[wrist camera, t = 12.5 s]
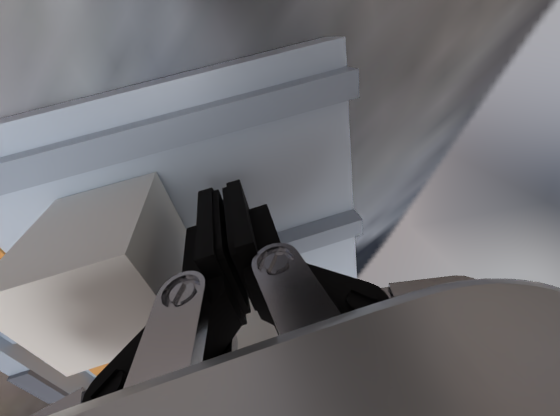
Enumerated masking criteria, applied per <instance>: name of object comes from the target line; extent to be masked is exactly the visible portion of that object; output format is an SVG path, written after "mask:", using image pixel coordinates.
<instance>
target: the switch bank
mask: <svg viewBox="0 0 560 416" xmlns="http://www.w3.org/2000/svg"><path fill="white" fill-rule="evenodd" d="M356 98H360V96H359V69H357V68H352V67H347V57H346V37H322V38H318V39H314V40H310V41H306V42H302V43H298V44H294V45H290V46H286V47H282V48H278V49H274V50H270V51H267V52H263V53H259V54H255V55H251V56H247V57H243V58H239V59H235V60H231V61H227V62H223V63H219V64H215V65H211V66H207V67H203V68H199V69H195V70H191V71H187V72H183V73H179V74H175V75H171V76H167V77H163V78H159V79H155V80H151V81H147V82H143V83H139V84H135V85H131V86H127V87H123V88H119V89H115V90H111V91H108V92H104V93H100V94H96V95H92V96H88V97H84V98H80V99H76V100H72V101H68V102H64V103H60V104H56V105H52V106H48V107H44V108H40V109H36V110H32V111H28V112H24V113H20V114H16V115H12V116H8V117H4V118H0V259H1V258H2V257H3V256H4V255H5V254H6V253H7V252H8V251H9V250H10V249H11V247H12V246H13V245H14V244H15V243H16V242H17V241H18V240H19V239H20V238H21V237H22V236H23V235H24V233H25V232H26V231H27V230H28V229H29V228H30V227H31V226H32V225H33V224H34V223H35V222H36V221H37V219H38V218H39V217H40V216H41V215H42V214H43V213H44V212H45V211H46V210H47V209H48V208H49V207H50V205H51V204H52V203H53V202H54V201H55V200H57V199H60V198H64V197H67V196H71V195H75V194H78V193H82V192H85V191H89V190H93V189H96V188H100V187H103V186H107V185H111V184H114V183H118V182H121V181H125V180H128V179H132V178H136V177H139V176H143V175H146V174H150V173H154V172H156V173H157V174H158V176H159V178H160V180H161V182H162V184H163V186H164V188H165V190H166V192H167V194H168V195H169V197H170V199H171V201H172V203H173V205H174V207H175V209H176V211H177V213H178V215H179V217H180V218H181V220H182V222H183V224H184V226H185V228H186V230H187V228H189V227H192V226H195V225H196V219H197V202H198V191H201V190H205V189H208V188H211V187H212V188H213V190H217V189H218V190H219V191H220V194H221V196H222V199H223V192H222V188H224V187H227V185H226V183H228V182H232V181H235V180H239V179H240V182H241V185H242V188H243V191H244V194H245V197H246V200H247V203H248V206H249V209H251V208H255V207H258V206H261V205H264V204H267V206H268V209H269V211H270V214H271V217H272V220H273V223H274V225H275V228H276V231H277V234H278V237H279V239H280V242H281V243H286V244H289V245H292V246H293V247H294V248H296V249H297V251H298V252H299V253H300V255H301V256H302V258H303V259H304V261H305V262H306V263H308V264H311V265H314V266H318V267H321V268H324V269H327V270H330V271H334V272H337V273H340V274H343V275H347V276H350V277H353V278H356V279H357V270H356V249H355V236H359V235H362V234H363V221H362V218H361V217H360V216H359V215H358V214H357V213H356V211H355V210H354V206H353V185H352V164H351V142H350V121H349V100H353V99H356ZM108 364H109V363H107V364H104V365H101V366H98V367H95V368H92V369H89V370H86V371H83V372H80V373H77V374H74V375H71V376H68V377H66V376H65V375H63V374H62V373H60V372H59V371H57V370H56V369H54V368H53V367H52V366H50V365H49V364H47V363H46V362H44V361H43V360H41V359H40V358H38V357H37V356H35V355H34V354H32V353H31V352H29V351H28V350H27V349H25V348H24V347H22V346H21V345H19V344H18V343H16V342H15V341H13V340H12V339H10V338H9V337H7V336H6V335H4V334H3V333H1V332H0V371H1V372H3V373H5V374H6V375H8V376H9V377H8V379H7V381H9V382H11V383H12V384H14V385H16V386H18V387H19V388H21V389H23V390H25V391H27V392H28V393H30V394H32V395H34V396H36V397H37V398H39V399H41V400H43V401H45V402H46V403H48V404H50V403H53V402H56V401H58V400H60V399H62V398H64V397H65V396H67V395H69V394H71V393H73V392H74V391H76V390H78V389H80V388H82V387H83V388H85V389H86V390H87V389H88V387H89V385H90V384H91V383H92V381H93V380H94V379H95V378H96V377H97V375H98V374H99V373H100V372H101V371H102V370H103V369H104V368H105V367H106V366H107V365H108Z"/></svg>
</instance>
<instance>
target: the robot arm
mask: <svg viewBox="0 0 560 416" xmlns="http://www.w3.org/2000/svg"><path fill="white" fill-rule="evenodd" d="M226 185H227V187H224V188H222V192H223V199H222V196H221V194H220V191H219V190H218V189H217V190H213V188H212V187H211V188H208V189H205V190H201V191H198V202H197V219H196V225H195V226H192V227H189V228H187V230H186V238H185V247H184V256H183V266H182V273H179V274H177V275H175V276H173V277H171V278H170V279H169V280H168V281H166V282H165V283H164V285H163V286H162V287H161V288H160V290H159V292H158V294H157V296H156V298H155V301H154V304H153V307H152V310H151V312H150V315H149V318H148V321H147V323H146V326H145V327H144V328H143V329H142V330H141V331H140V332H139V333H138V334H137V335H136V336H135V337H134V338H133V339H132V340H131V341H130V342H129V343H128V344H127V345H126V346H125V347H124V348H123V349H122V351H121V352H120V353H119V354H118V355H117V356H116V357H115V358H114V359H113V360H112V361H111V362H110V363H109V364H108V365H107V366H106V367H105V368H104V369H103V370H102V371H101V372H100V373H99V374H98V375H97V377H96V378H95V379H94V380H93V381H92V383H91V384H90V385H89V387H88V389H87V390H86V389H85V388H83V387H82V388H80V389H78V390H76V391H74V392H73V393H71V394H69V395H67V396H65V397H64V398H62V399H60V400H58V401H56V402H54V403H53V404H51V405H49V406H47V407H45V408H44V409H42V410H40V411H38V412H36V413H35V414H33V415H31V416H560V288H558V287H555V286H551V285H548V284H544V283H539V282H533V281H527V280H516V279H474V278H470V277H466V276H448V277H439V278H430V279H421V280H413V281H404V282H396V283H389V286H388V287H385V288H380V287H378V286H376V285H374V284H371V283H369V282H366V281H363V280H360V279H356V278H353V277H350V276H347V275H343V274H340V273H337V272H334V271H330V270H327V269H324V268H321V267H318V266H314V265H311V264H308V263H306V262H305V261H304V259H303V258H302V256H301V255H300V253H299V252H298V251H297V249H296V248H294V247H293V246H292V245H289V244H286V243H281V242H280V239H279V237H278V234H277V231H276V228H275V225H274V223H273V220H272V217H271V214H270V211H269V209H268V206H267V204H264V205H261V206H258V207H255V208H251V209H249V206H248V203H247V200H246V197H245V194H244V191H243V188H242V185H241V182H240V179H239V180H235V181H232V182H228V183H226ZM249 299H250V301H251V303H252V306H253V308H254V310H255V311H258V314H259V316H260V318H261V319H262V320H264V321H266V322H268V323H270V324H272V325H274V327H275V329H276V332H277V334H278V336H276V337H273V338H270V339H267V340H264V341H261V342H258V343H255V344H252V345H249V346H246V347H243V348H240V349H238V340H237V336H236V333H237V332H238V331H239V329H240V328H241V326H243V325H246V324H247V318H246V314H248V313H251V309H250V303H249Z"/></svg>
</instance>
